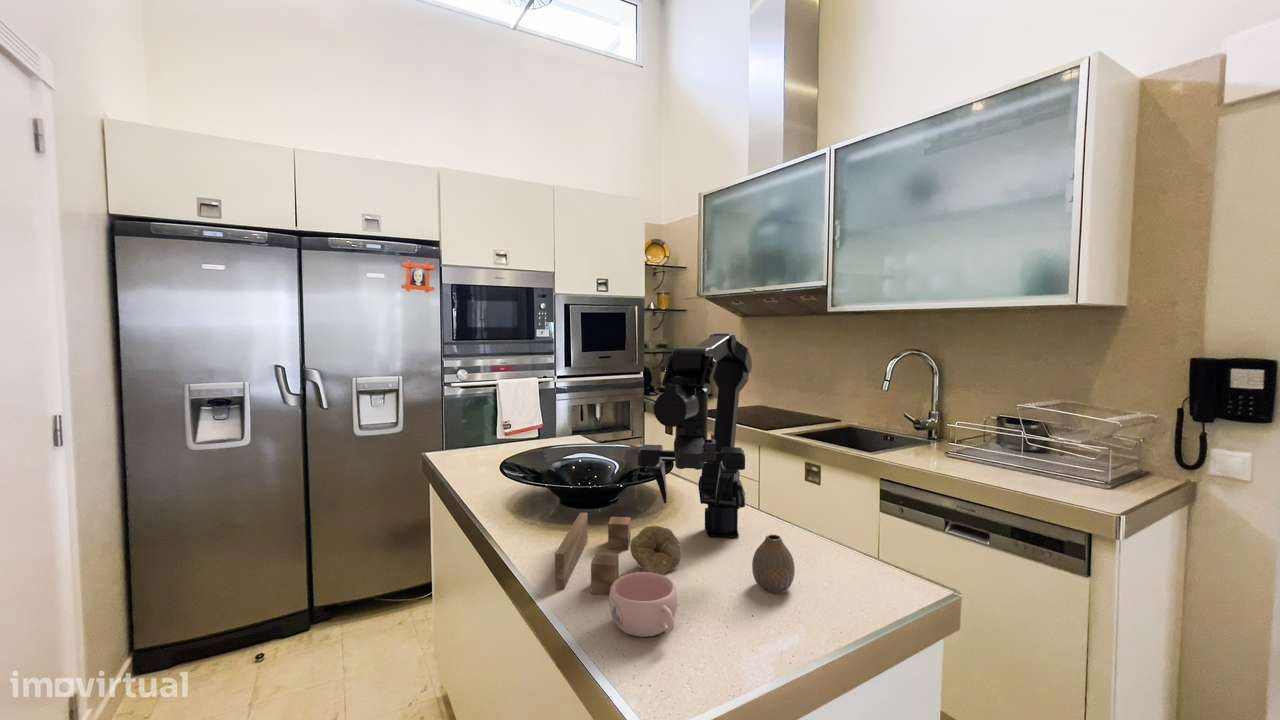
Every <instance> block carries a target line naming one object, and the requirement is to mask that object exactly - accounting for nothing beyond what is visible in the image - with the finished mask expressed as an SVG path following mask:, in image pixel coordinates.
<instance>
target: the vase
mask: <svg viewBox="0 0 1280 720" xmlns="http://www.w3.org/2000/svg"><path fill="white" fill-rule="evenodd" d="M795 566H796V565H795V561H794V557H793V555H792V553H791V551H790V550H789V548H787V546H786V545H785V543H784V541H783V539H782V537H781V536H780V535H779V534H767V535H766V536H765V538H764V540H763V542H762V543H761V544H760V545H759V546H758V547H757V548H756V550H755V552H754V555H753V557H752V563H751V567H752V568H751V569H752V575H753V579H754V581H755V583H756V584H757V586H758V587H759V588H760V589H761V590H762V591H763V592H765V593H769V594H772V595H775V594H776V595H778V594H783V593H785V592H786V591H787V590H788V589H789V588H790V587H792V586H791V585H792V584H793V581H794V578H795V572H796V570H795V569H796V567H795Z"/></svg>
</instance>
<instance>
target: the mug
mask: <svg viewBox="0 0 1280 720" xmlns="http://www.w3.org/2000/svg"><path fill="white" fill-rule="evenodd" d="M608 596H609V597H608V601H609V603H608V604H609V605H608V606H609V610H610V615H611V616H612V619H613V621H614V623H615V625H616V626H617V627H618V628H619V629H620V630H621V631H622V632H623V633H625V634H627V635H630V636H634V637H641V638H644V637H646V638H647V637H654V636H657V635H660V634H661V633H666V634H670V633H672V632H673V630H674V628H675V622H674V621H675V620H674V618H675V616H676V614H677V613H676V612H677V608H678V601H679V600H678V591H677V587H676V585H675V583H674V582H673V581H672V580H671V579H670V578H668V577H667V576H665V575H664V574H663V575H660V574H656V573H651V572H643V571H636V572H631V573H626V574H624V575H621V576H620V577H619V578H618V579H617V580H616V581H614V583H613V584H612V586H611V589H610V594H609V595H608Z"/></svg>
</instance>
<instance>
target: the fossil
mask: <svg viewBox="0 0 1280 720" xmlns="http://www.w3.org/2000/svg"><path fill="white" fill-rule="evenodd" d="M681 550H682V549H681V545H680V540H679V539H678V538H677V537H676V535H675V534H674V532H673V531H672V530H671V529H670V528H667V527H663V526H659V525H650V526H645V527H644V528H642V529H641V530H640V531H639V533H638V534H637V535H636V536H634V537H632V539H631V542H630V545H629V551H630V553H631V556H632V558H633V559H634V560H635V562H636V564H637V565H638V566H639V568H640V570H641V572H651V573H656V574H660V575H663V576H664V574H665V573H667V572H669V571H670V572H671V571H673V570H674V569H676V568H677V567H678V566H679V563H680V562H681V559H682V551H681Z"/></svg>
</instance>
